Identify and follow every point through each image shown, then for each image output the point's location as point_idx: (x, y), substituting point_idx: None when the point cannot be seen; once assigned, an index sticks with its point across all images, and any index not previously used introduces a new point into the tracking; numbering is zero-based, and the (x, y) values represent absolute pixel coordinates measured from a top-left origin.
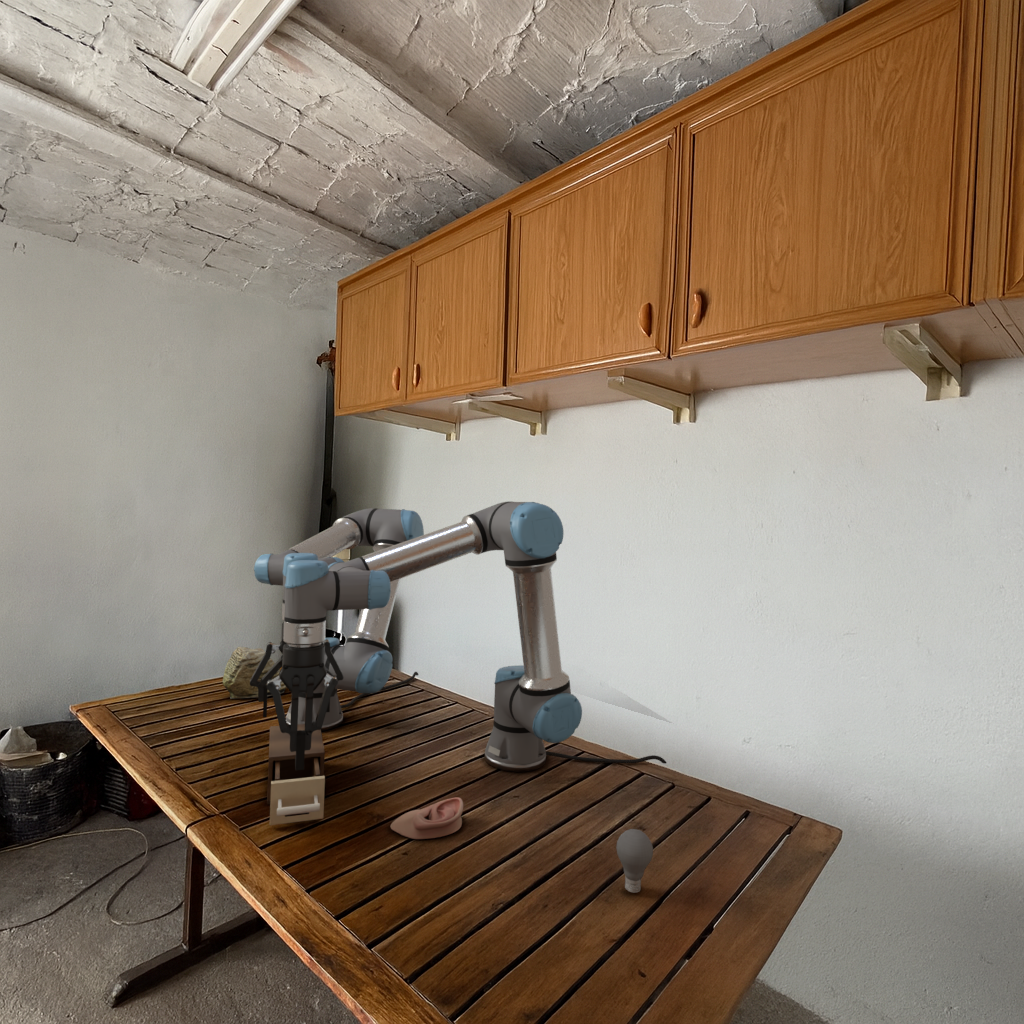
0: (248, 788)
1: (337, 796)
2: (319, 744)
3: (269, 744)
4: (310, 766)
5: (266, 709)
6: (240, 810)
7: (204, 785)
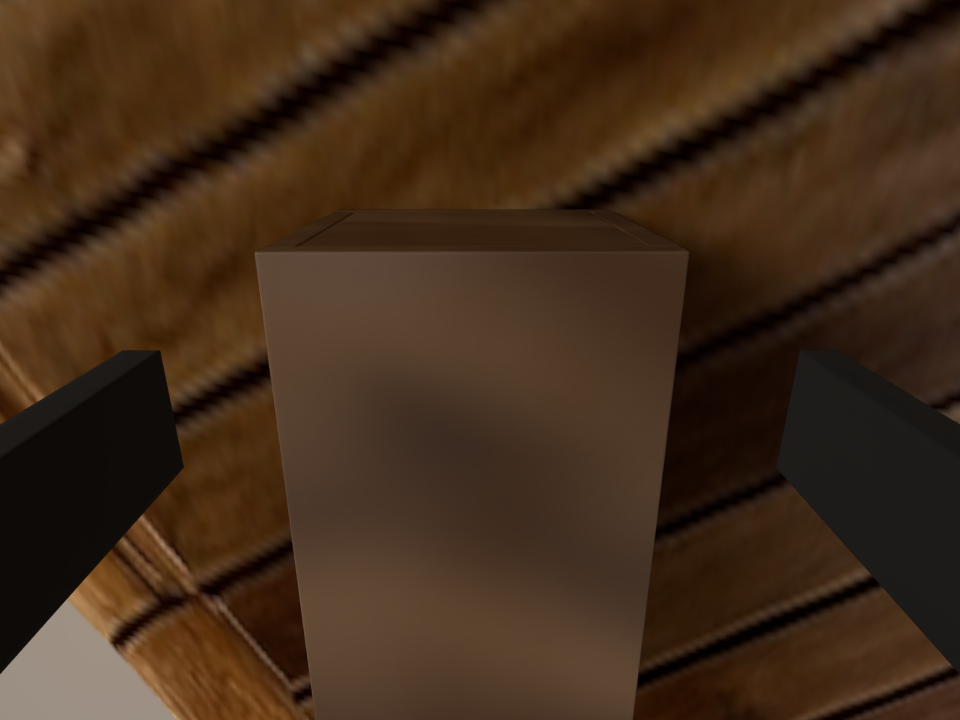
0: (270, 418)
1: None
2: (616, 662)
3: (300, 601)
4: None
5: (137, 514)
6: (272, 588)
7: (53, 340)
